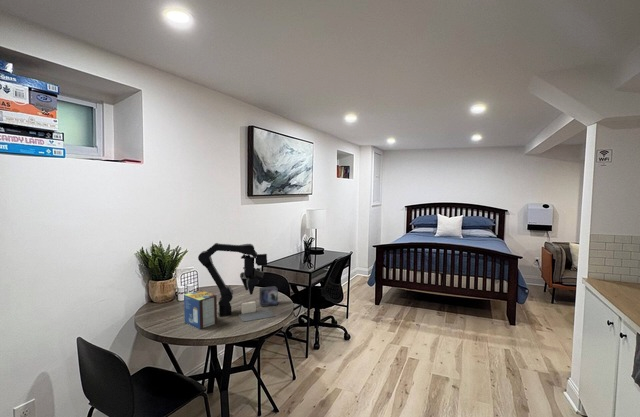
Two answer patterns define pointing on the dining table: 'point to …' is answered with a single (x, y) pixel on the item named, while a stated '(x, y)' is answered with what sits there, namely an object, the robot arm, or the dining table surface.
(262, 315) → the rubber mat
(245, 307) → the cream slab
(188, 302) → the protein box
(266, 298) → the small box
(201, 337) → the dining table surface
